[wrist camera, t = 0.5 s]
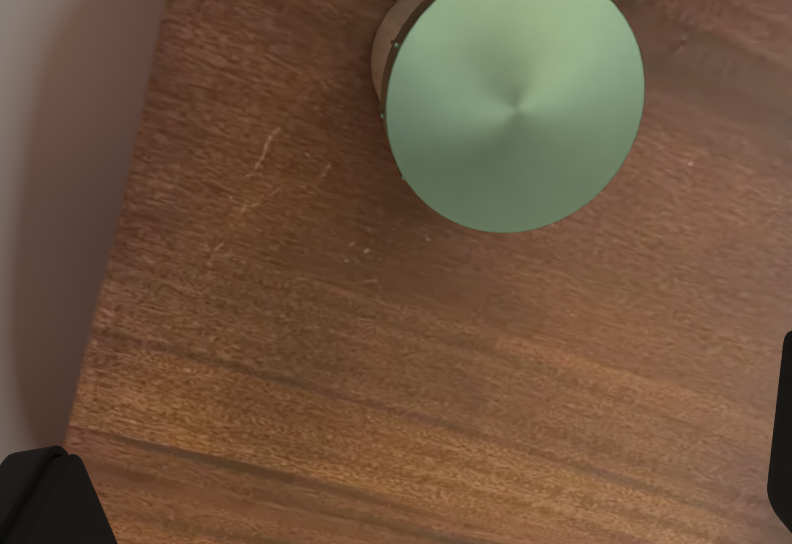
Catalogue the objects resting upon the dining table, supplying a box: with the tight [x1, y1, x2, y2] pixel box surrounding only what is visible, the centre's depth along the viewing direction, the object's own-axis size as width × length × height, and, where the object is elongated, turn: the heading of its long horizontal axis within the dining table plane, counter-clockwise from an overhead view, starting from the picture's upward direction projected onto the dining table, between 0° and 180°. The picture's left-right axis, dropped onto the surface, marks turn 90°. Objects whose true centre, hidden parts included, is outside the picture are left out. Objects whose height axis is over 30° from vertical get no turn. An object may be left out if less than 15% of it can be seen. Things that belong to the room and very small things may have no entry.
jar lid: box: [378, 0, 645, 233], centre depth 18 cm, size 7×7×2 cm
